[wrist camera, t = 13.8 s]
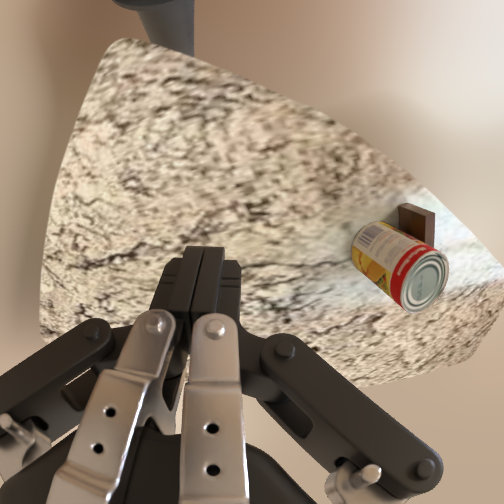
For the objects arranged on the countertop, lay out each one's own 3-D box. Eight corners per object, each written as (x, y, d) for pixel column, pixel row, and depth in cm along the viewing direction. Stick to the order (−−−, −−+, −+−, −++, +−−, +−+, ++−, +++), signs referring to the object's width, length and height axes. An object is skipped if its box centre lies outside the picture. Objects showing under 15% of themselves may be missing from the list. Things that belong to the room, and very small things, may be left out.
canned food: (371, 281, 41) (419, 323, 30) (340, 254, 38) (390, 296, 27) (402, 241, 39) (456, 273, 28) (374, 209, 37) (433, 237, 26)
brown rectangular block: (398, 205, 37) (425, 216, 32) (408, 202, 37) (435, 213, 32) (398, 266, 41) (422, 282, 36) (408, 262, 41) (431, 278, 36)
